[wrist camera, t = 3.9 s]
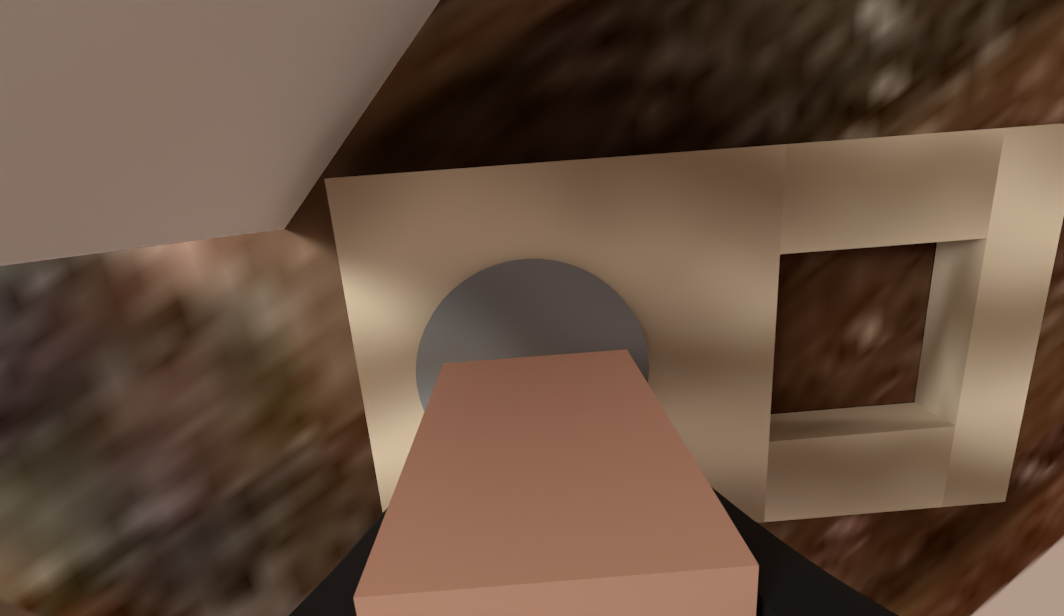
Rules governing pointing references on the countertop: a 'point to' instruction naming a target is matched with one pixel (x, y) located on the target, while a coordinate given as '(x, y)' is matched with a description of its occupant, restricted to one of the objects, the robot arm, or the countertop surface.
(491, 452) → the terracotta block
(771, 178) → the pocket board
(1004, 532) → the countertop surface
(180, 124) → the milk
